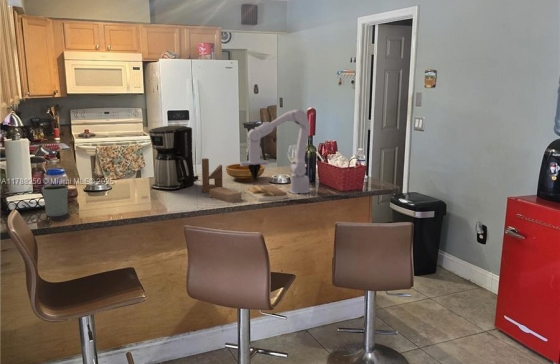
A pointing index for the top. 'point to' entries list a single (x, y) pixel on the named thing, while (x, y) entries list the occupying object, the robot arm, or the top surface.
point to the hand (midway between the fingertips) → (254, 178)
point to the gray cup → (55, 200)
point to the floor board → (264, 196)
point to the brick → (225, 194)
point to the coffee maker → (173, 157)
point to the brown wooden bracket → (205, 176)
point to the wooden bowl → (242, 172)
